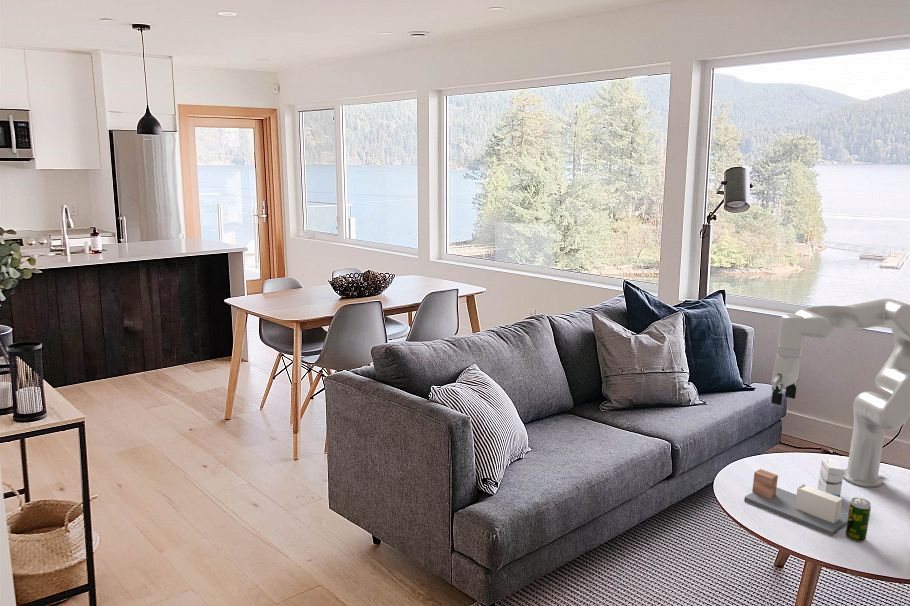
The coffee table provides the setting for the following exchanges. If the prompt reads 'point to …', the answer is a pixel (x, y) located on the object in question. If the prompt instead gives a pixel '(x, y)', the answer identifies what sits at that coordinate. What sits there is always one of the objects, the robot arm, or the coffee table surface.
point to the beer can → (858, 520)
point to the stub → (765, 483)
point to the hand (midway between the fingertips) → (783, 400)
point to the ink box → (830, 477)
